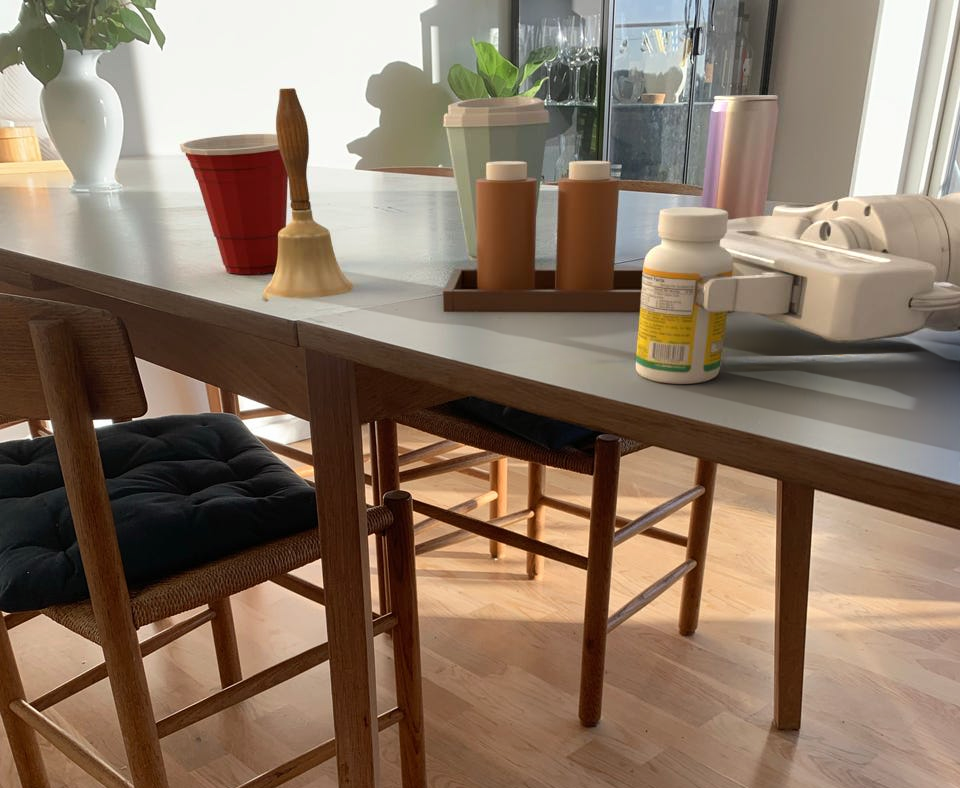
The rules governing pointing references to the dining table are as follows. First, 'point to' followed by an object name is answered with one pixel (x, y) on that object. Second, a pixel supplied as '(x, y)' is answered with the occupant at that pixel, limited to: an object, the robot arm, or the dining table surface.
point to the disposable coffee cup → (492, 146)
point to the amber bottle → (586, 227)
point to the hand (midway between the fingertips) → (673, 284)
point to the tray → (543, 295)
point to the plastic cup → (242, 197)
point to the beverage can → (739, 154)
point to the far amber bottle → (506, 227)
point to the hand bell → (301, 219)
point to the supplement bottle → (682, 298)
